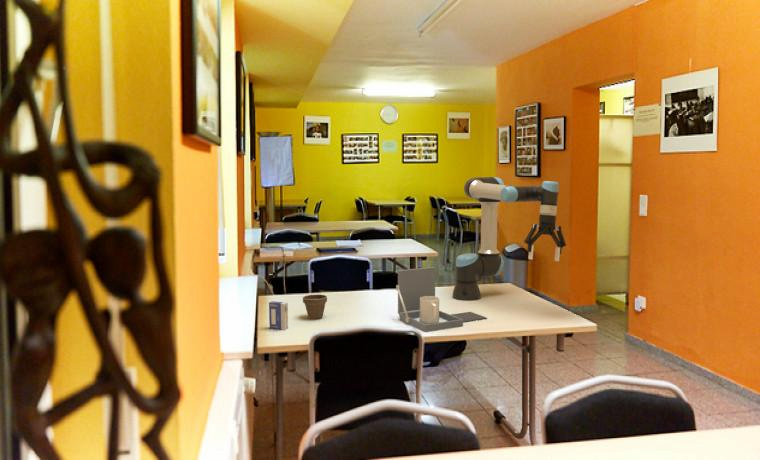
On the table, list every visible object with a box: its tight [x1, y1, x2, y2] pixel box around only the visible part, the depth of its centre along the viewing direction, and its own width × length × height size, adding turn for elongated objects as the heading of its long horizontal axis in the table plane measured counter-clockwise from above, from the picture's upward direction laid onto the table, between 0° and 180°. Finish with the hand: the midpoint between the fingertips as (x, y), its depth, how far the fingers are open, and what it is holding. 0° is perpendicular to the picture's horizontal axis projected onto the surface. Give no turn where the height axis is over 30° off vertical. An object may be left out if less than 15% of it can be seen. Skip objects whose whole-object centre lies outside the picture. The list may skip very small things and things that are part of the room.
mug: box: [419, 296, 440, 324], centre depth 267 cm, size 12×9×11 cm
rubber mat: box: [450, 311, 488, 324], centre depth 277 cm, size 13×15×1 cm
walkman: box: [268, 300, 289, 331], centre depth 259 cm, size 8×3×12 cm, turn 70°
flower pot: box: [302, 294, 328, 320], centre depth 277 cm, size 12×11×10 cm
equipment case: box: [395, 266, 464, 333], centre depth 267 cm, size 24×21×23 cm
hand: (543, 260), depth 275 cm, fingers open, 13 cm apart
